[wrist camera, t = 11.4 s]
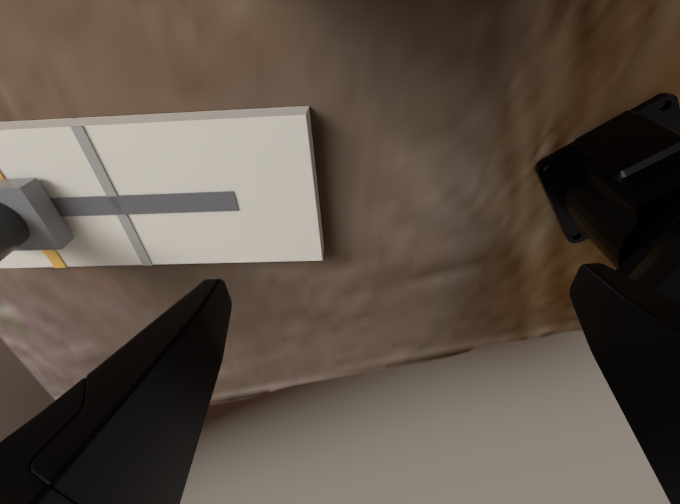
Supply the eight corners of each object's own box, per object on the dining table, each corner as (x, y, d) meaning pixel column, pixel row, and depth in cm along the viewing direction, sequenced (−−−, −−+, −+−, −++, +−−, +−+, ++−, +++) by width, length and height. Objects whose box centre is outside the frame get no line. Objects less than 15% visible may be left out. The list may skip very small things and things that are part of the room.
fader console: (309, 105, 18) (305, 115, 17) (324, 246, 23) (322, 261, 22) (-95, 126, 19) (-127, 136, 18) (8, 254, 25) (-10, 269, 24)
